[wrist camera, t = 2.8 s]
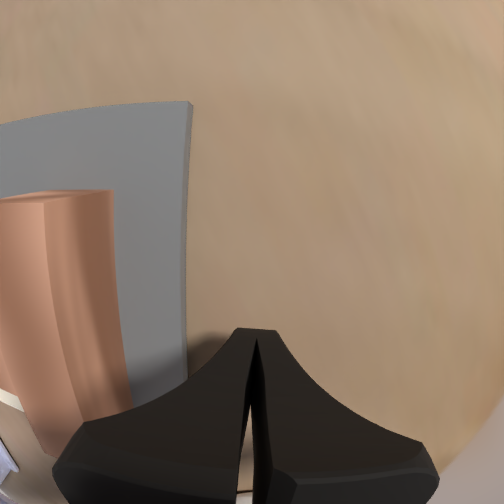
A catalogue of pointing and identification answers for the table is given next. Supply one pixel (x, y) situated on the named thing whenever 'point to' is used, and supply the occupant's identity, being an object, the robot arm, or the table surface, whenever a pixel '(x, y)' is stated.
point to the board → (122, 216)
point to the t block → (61, 311)
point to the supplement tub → (244, 498)
